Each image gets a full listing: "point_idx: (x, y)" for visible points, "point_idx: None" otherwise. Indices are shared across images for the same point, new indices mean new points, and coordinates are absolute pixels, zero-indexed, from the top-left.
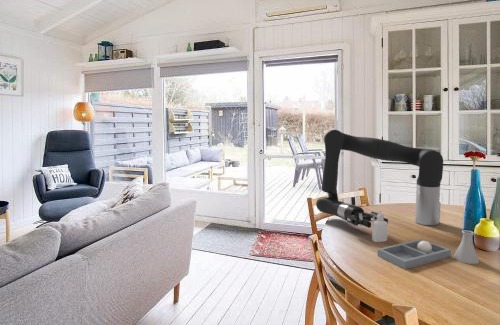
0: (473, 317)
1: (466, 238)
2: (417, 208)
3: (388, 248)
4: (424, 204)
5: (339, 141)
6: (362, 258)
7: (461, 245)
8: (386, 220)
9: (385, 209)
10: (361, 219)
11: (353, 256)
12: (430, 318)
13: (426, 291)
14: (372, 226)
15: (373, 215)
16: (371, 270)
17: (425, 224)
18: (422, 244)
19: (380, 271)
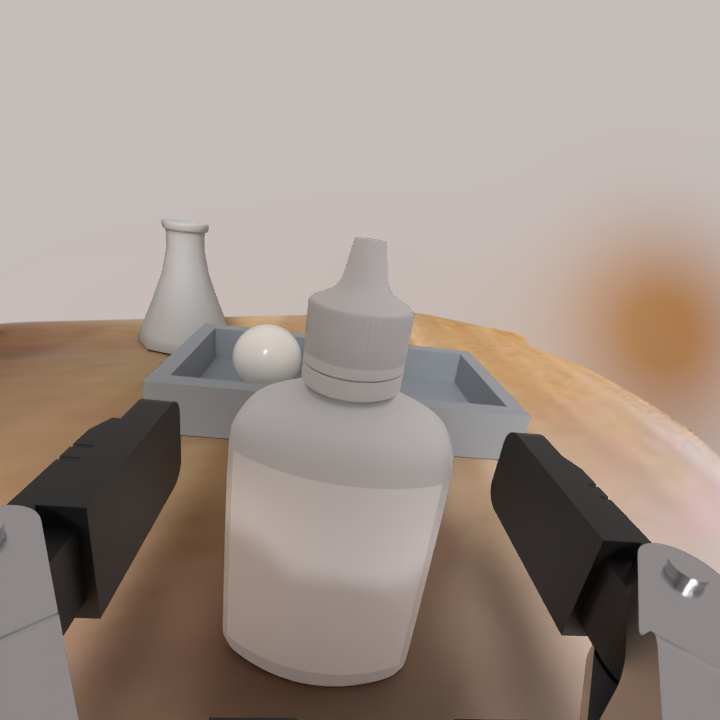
0: (443, 319)
1: (203, 248)
2: None
3: (460, 404)
4: None
5: None
6: (612, 484)
7: (203, 285)
8: (175, 415)
9: None
10: (678, 556)
11: (674, 518)
12: (518, 335)
13: (469, 348)
14: (442, 509)
15: (65, 669)
16: (589, 420)
17: None
18: (293, 337)
19: (553, 408)
